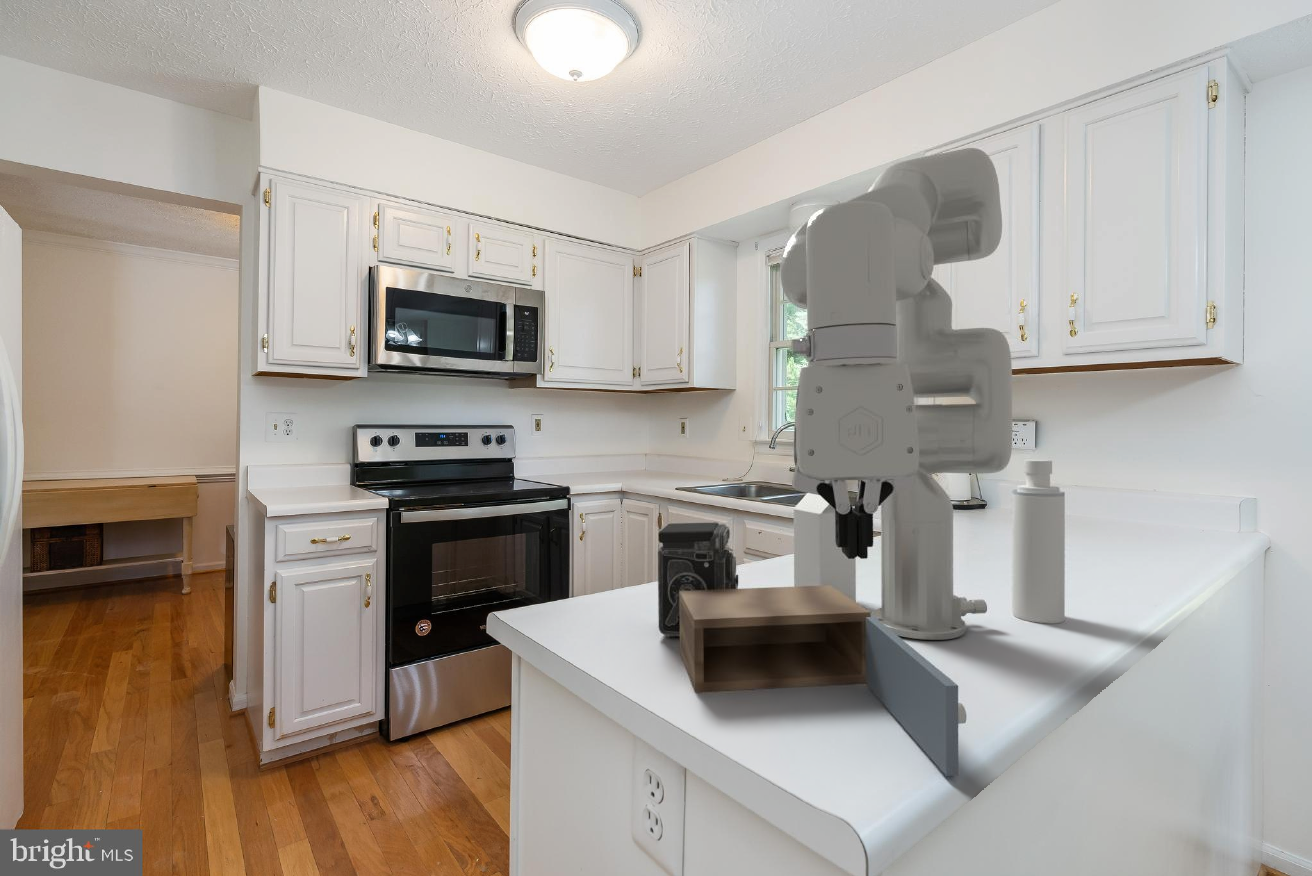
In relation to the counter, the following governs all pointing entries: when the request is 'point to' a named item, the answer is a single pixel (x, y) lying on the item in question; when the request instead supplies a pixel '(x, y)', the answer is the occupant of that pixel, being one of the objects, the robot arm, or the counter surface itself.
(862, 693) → the counter surface
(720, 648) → the cabinet
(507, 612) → the counter surface
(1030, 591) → the spray bottle
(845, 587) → the milk carton
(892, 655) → the side door
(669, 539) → the camera
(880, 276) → the robot arm
